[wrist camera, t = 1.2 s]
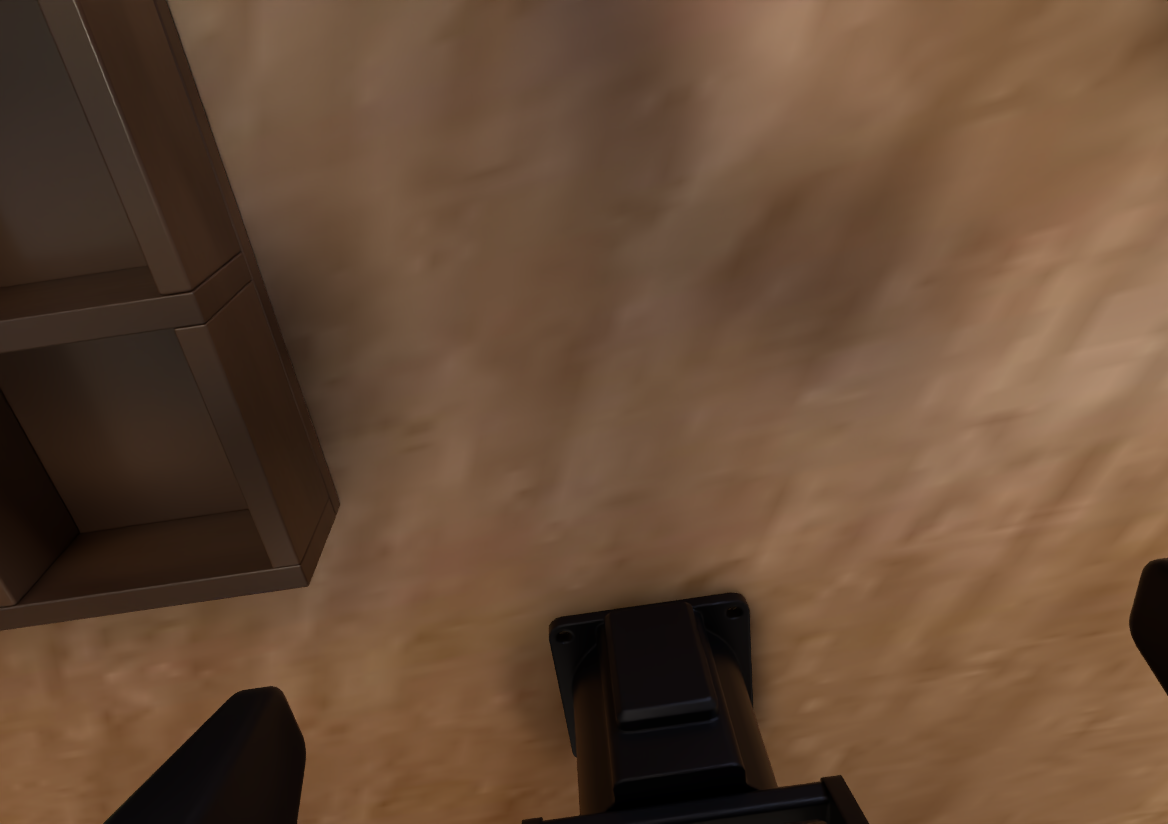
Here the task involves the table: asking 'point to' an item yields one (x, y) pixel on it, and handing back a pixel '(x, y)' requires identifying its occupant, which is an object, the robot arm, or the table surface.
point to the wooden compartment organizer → (135, 338)
